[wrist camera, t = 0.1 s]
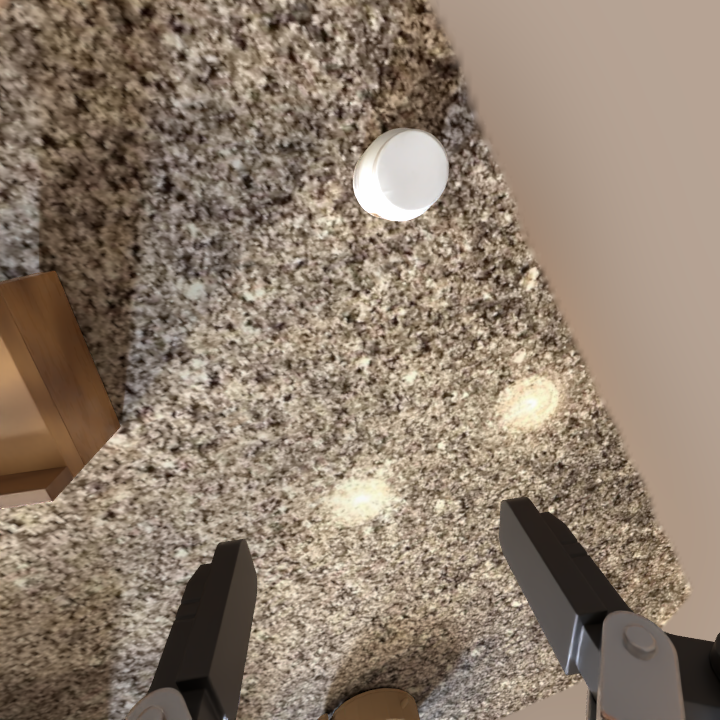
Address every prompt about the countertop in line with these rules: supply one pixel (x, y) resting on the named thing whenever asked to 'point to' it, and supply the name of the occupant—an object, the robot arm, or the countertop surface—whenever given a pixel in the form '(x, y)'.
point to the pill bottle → (401, 174)
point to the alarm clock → (377, 706)
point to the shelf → (46, 393)
